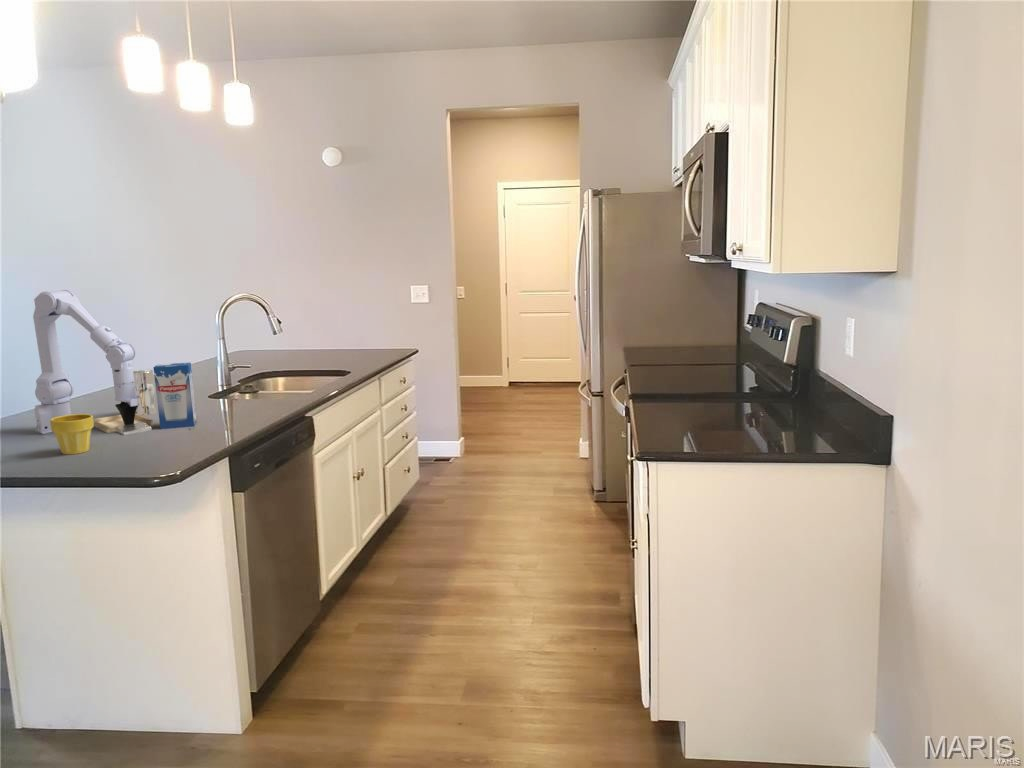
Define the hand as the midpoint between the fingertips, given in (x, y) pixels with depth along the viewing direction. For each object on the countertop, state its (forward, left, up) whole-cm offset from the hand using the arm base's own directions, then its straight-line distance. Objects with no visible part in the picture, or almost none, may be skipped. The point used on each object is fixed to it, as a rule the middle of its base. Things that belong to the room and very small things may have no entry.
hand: (129, 425), depth 235 cm
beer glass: (+12, +21, -2) cm, 24 cm away
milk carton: (+12, -8, -2) cm, 15 cm away
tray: (0, +8, -1) cm, 8 cm away
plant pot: (-19, -15, -2) cm, 25 cm away
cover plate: (0, -4, -1) cm, 4 cm away
